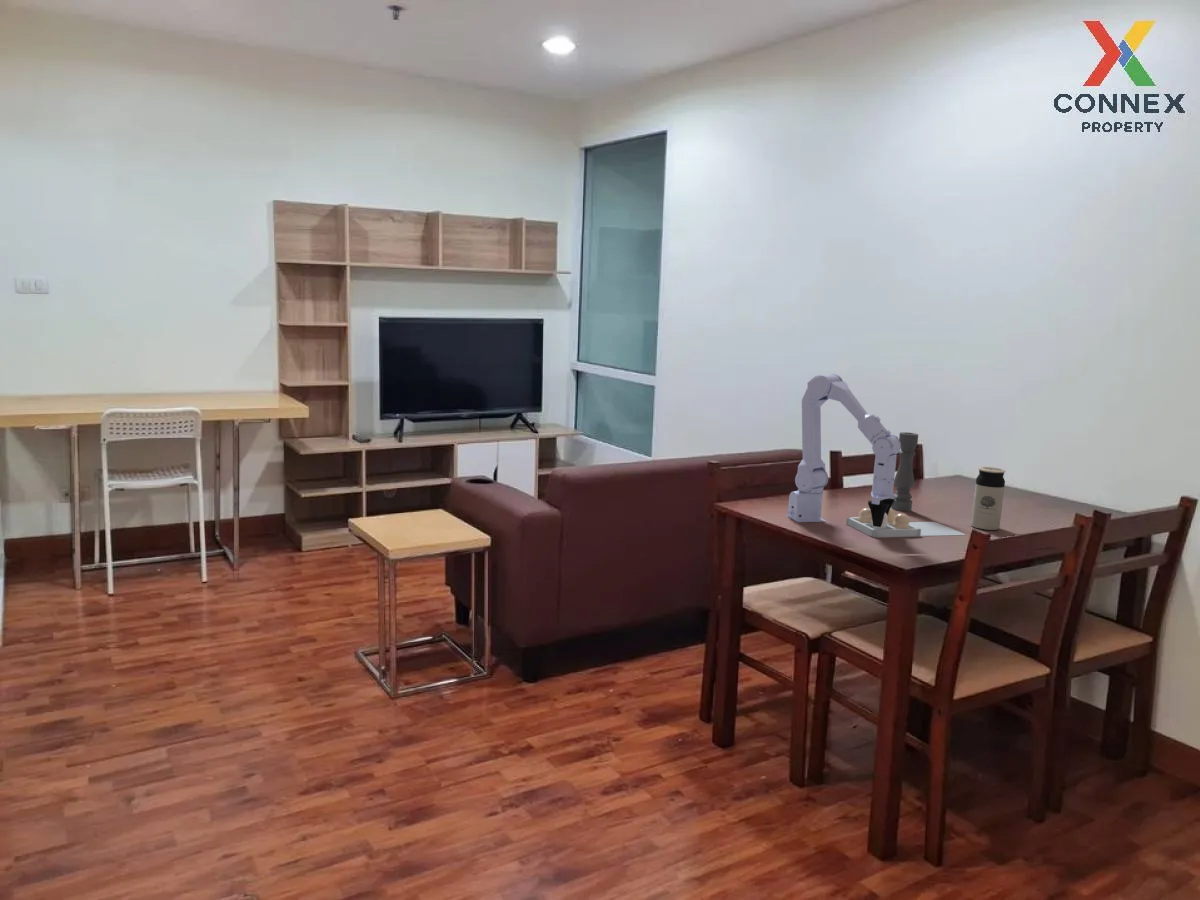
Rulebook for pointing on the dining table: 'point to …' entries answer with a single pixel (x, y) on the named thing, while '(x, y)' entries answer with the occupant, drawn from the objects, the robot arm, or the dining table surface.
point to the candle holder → (905, 472)
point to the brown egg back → (901, 521)
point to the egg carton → (912, 530)
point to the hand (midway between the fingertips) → (879, 524)
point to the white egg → (884, 523)
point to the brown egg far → (891, 516)
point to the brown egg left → (865, 516)
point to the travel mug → (988, 498)
